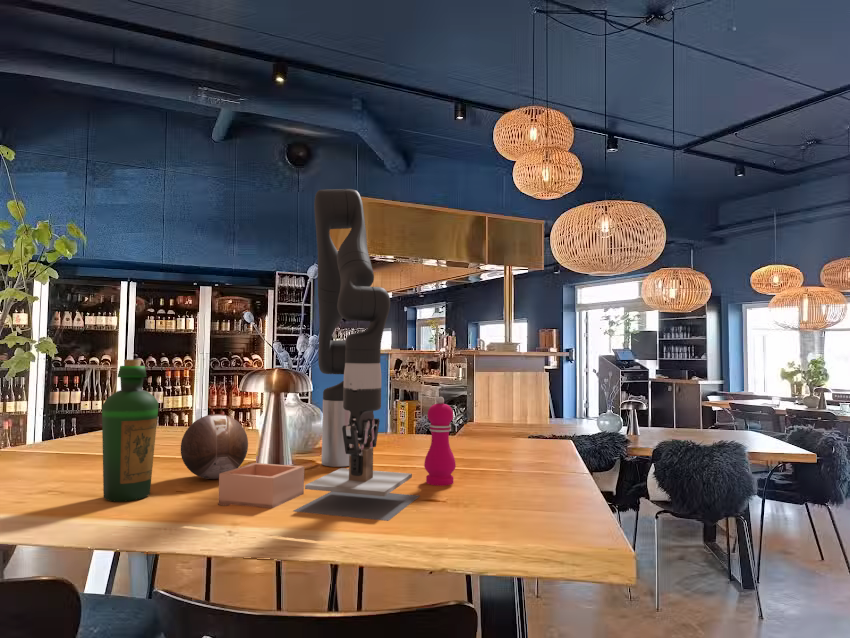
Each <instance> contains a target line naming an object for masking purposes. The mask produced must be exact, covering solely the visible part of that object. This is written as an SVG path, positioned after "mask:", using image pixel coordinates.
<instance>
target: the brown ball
mask: <svg viewBox="0 0 850 638" xmlns="http://www.w3.org/2000/svg"><path fill="white" fill-rule="evenodd" d="M247 435H248V434H247V432H246V430H245V428H244V426H243V425H242V424H241V423H240V422H239V421H238V420H236V419H235V418H233V417H232V416H228V415H226V414H220V413H215V414H214V413H213V414H208V415H205V416H202V417H200V418H198V419H196V420H195V421H194V422H192V423H191V424H190V425H189V426H188V428H186V430H185V432H184V434H183V436H182V439H181V442H180V456H181V459H182V462H183V464H184V466H185V467H186V468H187V469H188V471H190V473H192V474H193V475H195V476H197V477H199V478H201V479H206V480H219V474H220V473H223V472H227V471H230V470H233V469H236V468H239V467H241V465H242V464H243V463H244V461H245V459H246V457H247V454H248V450H249V438H248V436H247Z"/></svg>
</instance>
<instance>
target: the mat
mask: <svg viewBox="0 0 850 638" xmlns="http://www.w3.org/2000/svg"><path fill="white" fill-rule="evenodd" d="M420 497H421V495H418V494H406V493H405V494H404V493H403V494H402V493H396V492H395V493H394V492H390V493H389V494H387V495H386V496H375V495H364V494H353V493H342V492H331V491H328V492H327V493H325V494H323V495H321V496H319V497H318V498H316V499H314V500H312V501H309V502H308V503H305V504H304V505H302V506H300V507H299V506H298V507H297V508H295V509H294V510H293V512H297V513H307V514H316V515H324V516H325V515H326V516H327V515H328V516H337V517H344V518H345V517H347V518H356V519H366V520H367V519H368V520H375V521H376V520H377V521H386V522H388V521H391V519H393V518H394V517H395V516H397V515H398V514H399V513H401V512H402V511H403V510H405V509H406V508H407V507H408V506H409V505H411V504H412V503H413V502H414V501H416V500H417V499H418V498H420Z"/></svg>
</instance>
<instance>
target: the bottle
mask: <svg viewBox="0 0 850 638" xmlns="http://www.w3.org/2000/svg"><path fill="white" fill-rule="evenodd" d="M141 364H142V359H124V365H120V367H119V370H118V373H117V378H119V379H120V380H119V381H120V390H117V391H116V392H113V393H112V394H111V395H110V396H108V397H107V398H106V399H105V400H104V402H103V403H102V405H101V422H102V423H101V430H102V432H101V434H102V437H101V438H102V478H103V479H102V482H103V485H102V487H103V489H102V490H103V499H105V500H107V501H110V502H118V503H121V502H123V503H124V502H133V501H138V500H142V499H144V498H146V497H147V496H150V494H151V487H152V477H153V476H152V475H153V467H154V466H153V465H154V455H155V444H156V436H157V435H156V434H157V425H158V416H159V415H158V413H159V406H160V405H159V401H158V400H157V398H156V397H155V396H154V395H153V394H151V392H149V391H147V390H144V389H143V385H144V379H145V378H147V371H146V370H147V369H146V366H145V365H141Z"/></svg>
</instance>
